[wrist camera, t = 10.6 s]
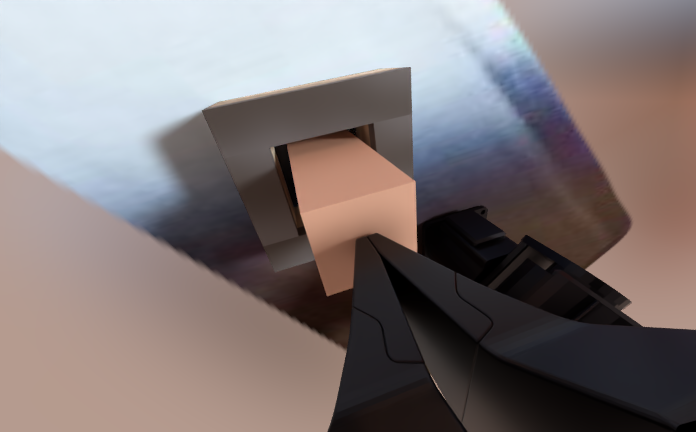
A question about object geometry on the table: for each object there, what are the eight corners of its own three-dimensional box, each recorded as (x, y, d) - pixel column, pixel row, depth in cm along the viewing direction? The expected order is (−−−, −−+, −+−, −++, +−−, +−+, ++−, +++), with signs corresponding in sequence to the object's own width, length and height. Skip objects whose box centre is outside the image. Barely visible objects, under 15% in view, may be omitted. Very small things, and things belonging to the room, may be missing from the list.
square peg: (353, 181, 19) (417, 266, 10) (302, 194, 18) (326, 296, 10) (344, 127, 17) (415, 181, 8) (286, 141, 16) (300, 213, 8)
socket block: (391, 204, 21) (414, 229, 17) (274, 238, 19) (274, 272, 16) (380, 68, 16) (410, 67, 12) (218, 101, 14) (202, 110, 11)
